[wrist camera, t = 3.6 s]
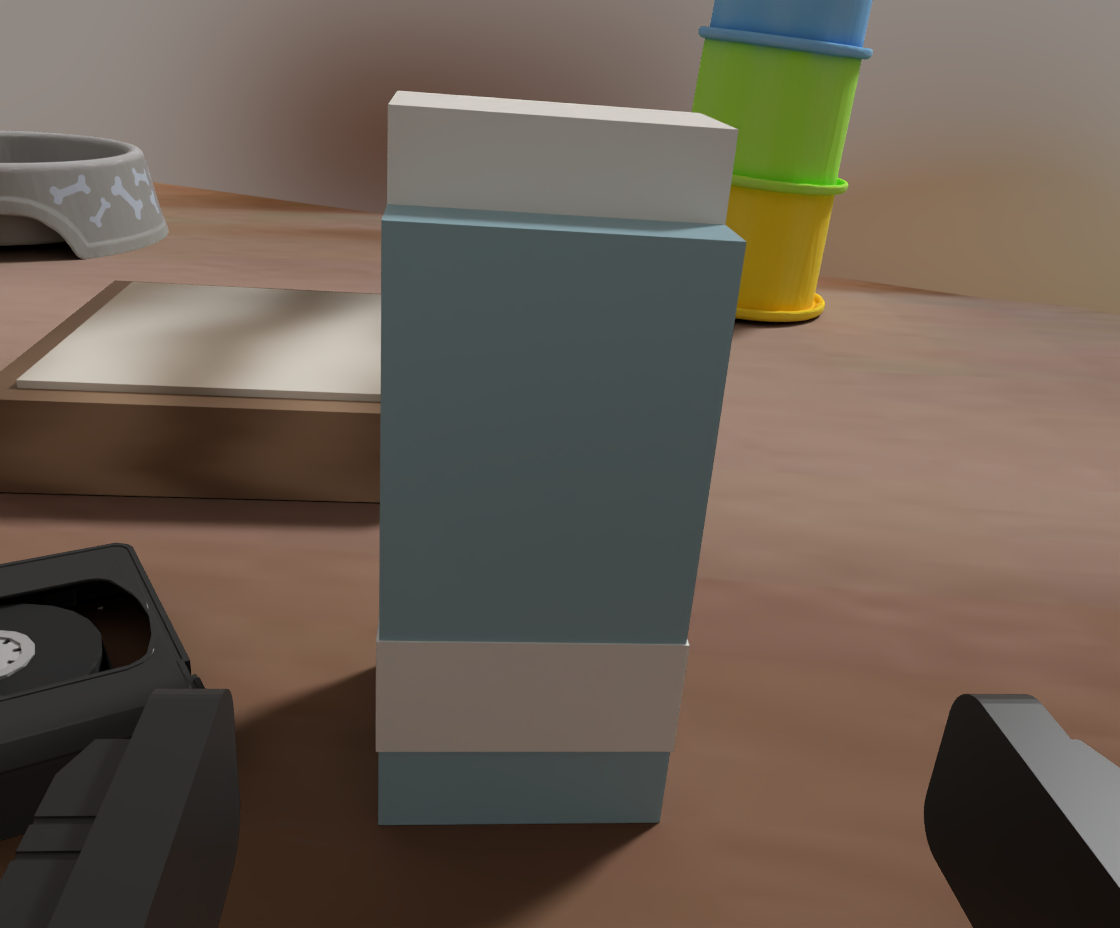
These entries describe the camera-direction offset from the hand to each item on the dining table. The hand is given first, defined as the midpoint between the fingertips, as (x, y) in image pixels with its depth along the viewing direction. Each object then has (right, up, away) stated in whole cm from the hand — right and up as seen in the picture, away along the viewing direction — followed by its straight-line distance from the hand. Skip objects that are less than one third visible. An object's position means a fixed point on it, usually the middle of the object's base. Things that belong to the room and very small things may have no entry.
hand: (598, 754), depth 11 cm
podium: (-12, +5, +26) cm, 29 cm away
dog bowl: (-34, +17, +51) cm, 64 cm away
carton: (-1, -3, +11) cm, 11 cm away
